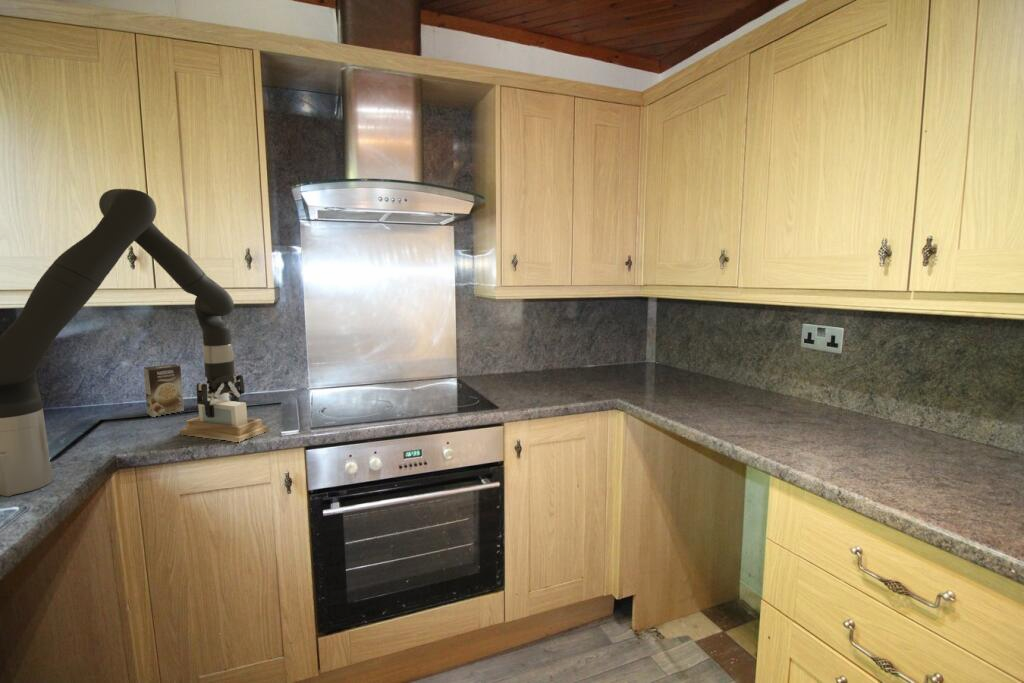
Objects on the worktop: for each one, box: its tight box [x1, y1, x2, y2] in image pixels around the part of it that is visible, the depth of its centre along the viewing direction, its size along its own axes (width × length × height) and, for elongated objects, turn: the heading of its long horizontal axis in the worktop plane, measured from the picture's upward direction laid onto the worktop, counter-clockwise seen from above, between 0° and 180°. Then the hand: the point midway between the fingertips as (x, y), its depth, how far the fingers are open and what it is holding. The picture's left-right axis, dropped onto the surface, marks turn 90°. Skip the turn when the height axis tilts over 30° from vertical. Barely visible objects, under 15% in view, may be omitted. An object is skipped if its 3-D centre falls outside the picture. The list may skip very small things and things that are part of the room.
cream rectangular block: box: [197, 399, 248, 426], centre depth 145 cm, size 4×14×8 cm, turn 72°
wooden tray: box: [179, 416, 270, 444], centre depth 146 cm, size 11×22×4 cm, turn 73°
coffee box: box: [143, 363, 185, 418], centre depth 165 cm, size 9×6×16 cm
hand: (223, 413), depth 145 cm, fingers open, 8 cm apart
